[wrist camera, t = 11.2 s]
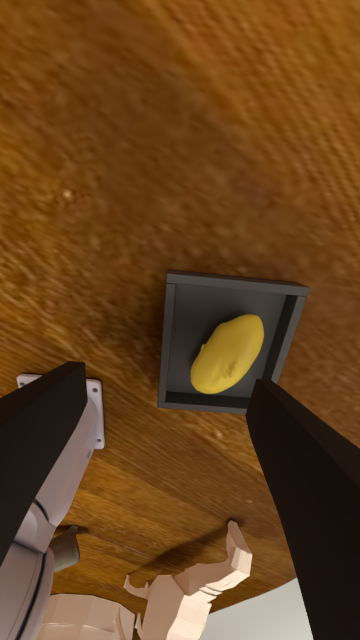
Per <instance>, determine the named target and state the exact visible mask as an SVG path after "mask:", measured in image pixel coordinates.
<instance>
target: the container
mask: <svg viewBox="0 0 360 640" xmlns="http://www.w3.org/2000/svg"><path fill="white" fill-rule="evenodd" d="M118 607H120V621H121V626H122V629H123V633H124V637H125V639H126V640H132V635H133V627H134V618H135V615H134V614H133V613H131V612H130V611H129V610H128V609H126V608H125V607H124V606H122V605H121V604H120V603H116V602H113V601H110V600H106V599H103V598H99V597H96V596H93V595H76V594H56V595H51V596H50V597H49V601H48V605H47V608H46V611H45V614H44V617H43V620H42V623H41V626H40V629H39V631H38V634H37V637H36V639H35V640H120V637H119V633H118V630H117V628H116V622H114V620H115V616H116V613H117V610H118Z"/></svg>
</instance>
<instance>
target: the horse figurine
mask: <svg viewBox="0 0 360 640" xmlns="http://www.w3.org/2000/svg"><path fill="white" fill-rule="evenodd" d="M226 547H227V553H228V557H229V558H228V559H227V560H226V561H224V562H221V563H217V564H200V563H196V565H195V566H192V567H189V568H187V569H185V571H184V572H182V573H180V574H178V575H176V576H172V575H158V576H157V577H156V579H155V580H154V582H153V583H152V585H151V586H150V588H149V586H148V582H147V581H146V585H145V588H134V587H133V586H131V585H130V584H129V575H127V577H126V580H125V584H124V588H126V589H127V591H128V592H129V593H131V594H134V595H136V596H138V597H143V598H145V599H147V600H148V604H147V608H146V613H145V617H144V621H143V625H142V627H141V621H140V613H138V617H137V621H136V625H135V628H137V631H138V635H139V636H140V639H141V640H198V639H199V637H200V635H201V633H202V631H203V629H204V627H205V624H206V620H207V616H208V613H209V610H210V607H211V605H212V604H211V603H210V602H209V601H211V600H212V599H214V598H216V595H217V594H220V593H222V592H221V591H223V590H226V589H229V588H233V587H235V586H236V585H237V584H238V583H239V582H241V581H242V580H244V579H245V578H247V577H248V576H250V568H251V560H252V553H251V552H250V550H249V548H248V546H247V544H246V542H245V540H244V538H243V536H242V534H241V532H240V530H239V527H238V525H237V523H236V522H233V521H232V520H231V521H230V522H229V523H228V534H227V536H226ZM114 622H116V628H117V630H118V633H119V637H120V640H126V639H125V637H124V633H123V629H122V626H121V621H120V607H118V610H117V613H116V616H115V620H114Z"/></svg>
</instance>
